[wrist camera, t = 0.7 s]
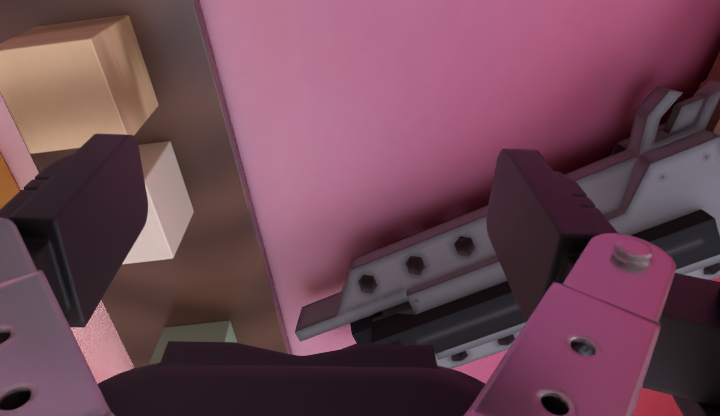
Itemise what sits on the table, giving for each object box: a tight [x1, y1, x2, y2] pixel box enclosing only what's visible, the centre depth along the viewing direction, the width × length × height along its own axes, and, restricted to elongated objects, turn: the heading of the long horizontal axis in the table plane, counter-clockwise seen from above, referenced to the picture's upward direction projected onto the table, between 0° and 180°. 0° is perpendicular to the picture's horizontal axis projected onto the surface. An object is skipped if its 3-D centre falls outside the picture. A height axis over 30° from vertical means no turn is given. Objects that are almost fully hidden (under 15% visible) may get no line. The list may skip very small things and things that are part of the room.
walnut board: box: [0, 0, 292, 368], centre depth 32 cm, size 30×11×1 cm, turn 7°
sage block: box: [149, 320, 237, 364], centre depth 35 cm, size 5×5×5 cm
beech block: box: [0, 15, 159, 154], centre depth 25 cm, size 5×5×5 cm
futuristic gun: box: [295, 51, 720, 369], centre depth 30 cm, size 7×34×15 cm
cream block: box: [123, 141, 194, 264], centre depth 28 cm, size 5×5×5 cm
